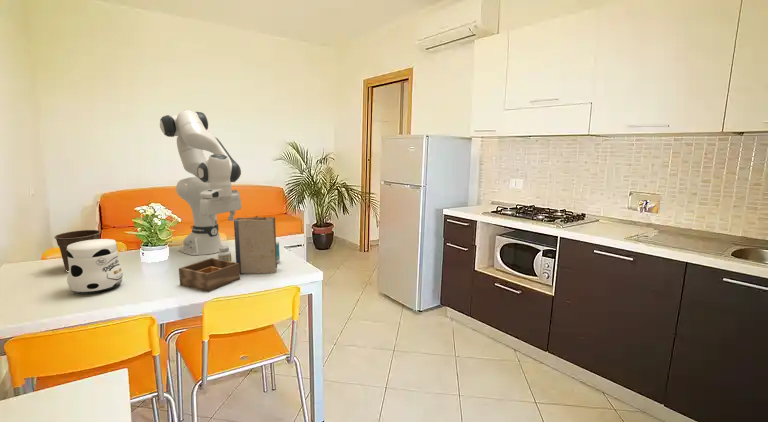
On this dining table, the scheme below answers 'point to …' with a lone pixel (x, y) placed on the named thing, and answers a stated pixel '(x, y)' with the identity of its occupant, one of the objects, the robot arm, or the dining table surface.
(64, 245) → the plant pot
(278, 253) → the pill bottle
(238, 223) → the book
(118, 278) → the milk container
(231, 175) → the robot arm
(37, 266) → the dining table surface
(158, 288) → the dining table surface
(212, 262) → the walled box
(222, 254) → the supplement bottle
